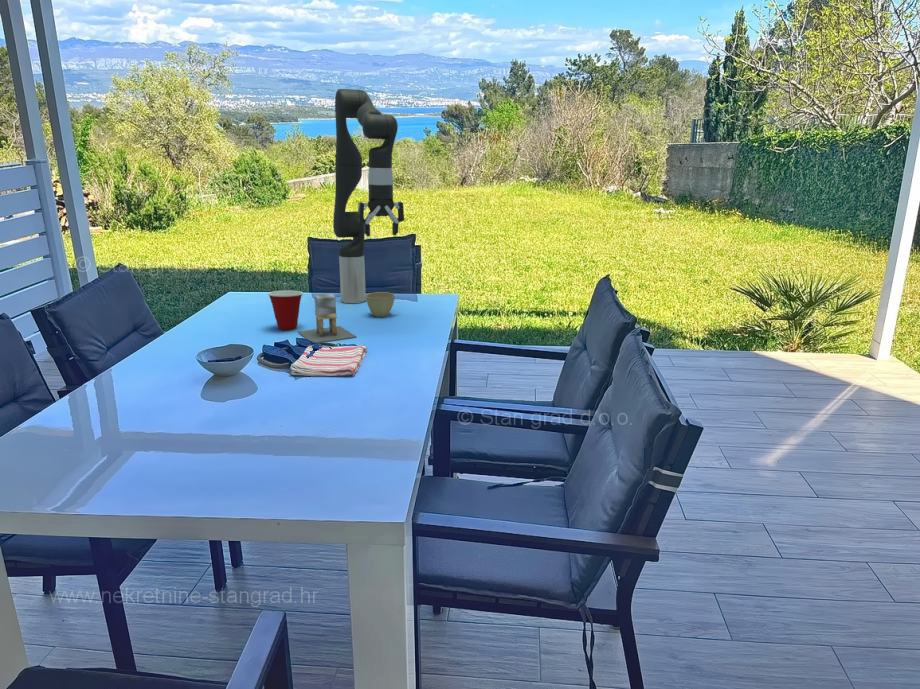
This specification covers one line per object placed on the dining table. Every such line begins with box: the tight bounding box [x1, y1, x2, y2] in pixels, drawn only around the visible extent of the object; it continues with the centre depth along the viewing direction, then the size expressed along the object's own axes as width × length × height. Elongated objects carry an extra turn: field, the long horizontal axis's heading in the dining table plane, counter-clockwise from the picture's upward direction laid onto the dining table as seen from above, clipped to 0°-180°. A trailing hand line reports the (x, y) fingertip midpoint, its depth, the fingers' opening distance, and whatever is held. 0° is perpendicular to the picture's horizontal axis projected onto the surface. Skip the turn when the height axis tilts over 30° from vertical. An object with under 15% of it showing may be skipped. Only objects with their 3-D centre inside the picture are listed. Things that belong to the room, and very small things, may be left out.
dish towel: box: [289, 345, 368, 377], centre depth 182 cm, size 17×23×4 cm
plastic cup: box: [267, 290, 304, 331], centre depth 214 cm, size 11×11×12 cm
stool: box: [314, 293, 338, 337], centre depth 206 cm, size 6×6×12 cm
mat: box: [297, 325, 357, 344], centre depth 208 cm, size 14×14×1 cm
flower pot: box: [365, 291, 396, 318], centre depth 231 cm, size 10×10×7 cm
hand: (381, 235), depth 211 cm, fingers open, 8 cm apart
